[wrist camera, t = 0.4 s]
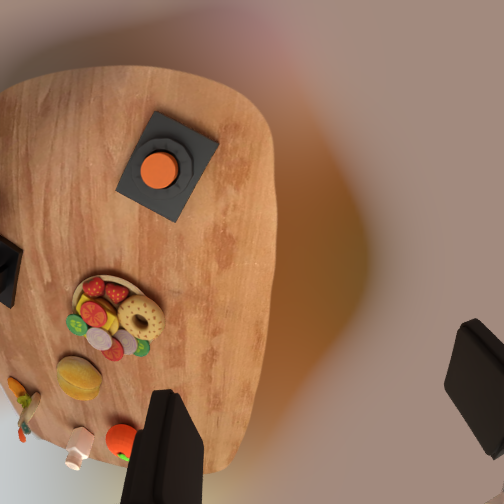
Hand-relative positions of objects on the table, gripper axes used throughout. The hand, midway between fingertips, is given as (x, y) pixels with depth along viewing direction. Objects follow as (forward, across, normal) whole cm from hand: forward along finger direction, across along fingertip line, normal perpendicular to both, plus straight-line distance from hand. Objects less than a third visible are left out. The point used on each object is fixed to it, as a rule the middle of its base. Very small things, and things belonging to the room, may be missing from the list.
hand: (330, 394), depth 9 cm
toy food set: (+30, +22, +12) cm, 40 cm away
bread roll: (+30, +34, +23) cm, 51 cm away
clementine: (+31, +32, +38) cm, 58 cm away
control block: (+30, +9, -6) cm, 32 cm away
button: (+26, +9, -6) cm, 29 cm away
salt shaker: (+31, +44, +40) cm, 67 cm away
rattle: (+30, +51, +27) cm, 65 cm away
